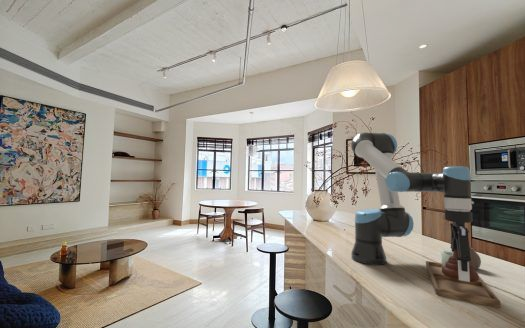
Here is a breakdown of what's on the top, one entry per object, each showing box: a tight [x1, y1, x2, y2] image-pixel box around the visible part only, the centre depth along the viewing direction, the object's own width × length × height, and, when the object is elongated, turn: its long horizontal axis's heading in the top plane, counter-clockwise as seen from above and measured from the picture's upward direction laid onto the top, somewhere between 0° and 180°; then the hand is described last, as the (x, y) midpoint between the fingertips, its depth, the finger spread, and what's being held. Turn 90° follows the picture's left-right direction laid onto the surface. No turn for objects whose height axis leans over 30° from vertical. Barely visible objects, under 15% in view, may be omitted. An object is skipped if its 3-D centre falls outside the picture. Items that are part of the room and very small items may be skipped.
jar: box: [440, 248, 452, 267], centre depth 95 cm, size 6×6×9 cm
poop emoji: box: [442, 249, 480, 282], centre depth 82 cm, size 10×8×9 cm
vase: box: [465, 246, 482, 270], centre depth 104 cm, size 7×7×9 cm
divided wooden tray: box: [425, 260, 502, 309], centre depth 88 cm, size 16×31×2 cm, turn 150°
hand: (460, 275), depth 82 cm, fingers closed on poop emoji, 9 cm apart
